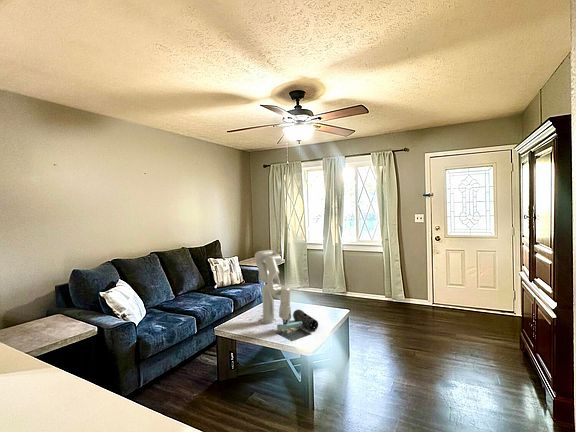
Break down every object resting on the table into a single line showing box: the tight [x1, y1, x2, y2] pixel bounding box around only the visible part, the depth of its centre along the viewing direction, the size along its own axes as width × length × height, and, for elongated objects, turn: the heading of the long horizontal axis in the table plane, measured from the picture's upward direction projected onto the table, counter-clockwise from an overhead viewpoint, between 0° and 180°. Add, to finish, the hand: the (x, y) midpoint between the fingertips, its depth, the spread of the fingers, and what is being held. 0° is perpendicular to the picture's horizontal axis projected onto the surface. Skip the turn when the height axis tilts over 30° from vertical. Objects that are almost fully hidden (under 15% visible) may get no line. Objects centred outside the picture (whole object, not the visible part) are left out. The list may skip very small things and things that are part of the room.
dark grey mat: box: [273, 327, 312, 342], centre depth 237 cm, size 22×20×1 cm
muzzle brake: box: [292, 309, 319, 332], centre depth 253 cm, size 10×28×10 cm, turn 25°
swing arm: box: [276, 321, 304, 333], centre depth 242 cm, size 22×4×5 cm, turn 116°
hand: (285, 327), depth 245 cm, fingers closed
